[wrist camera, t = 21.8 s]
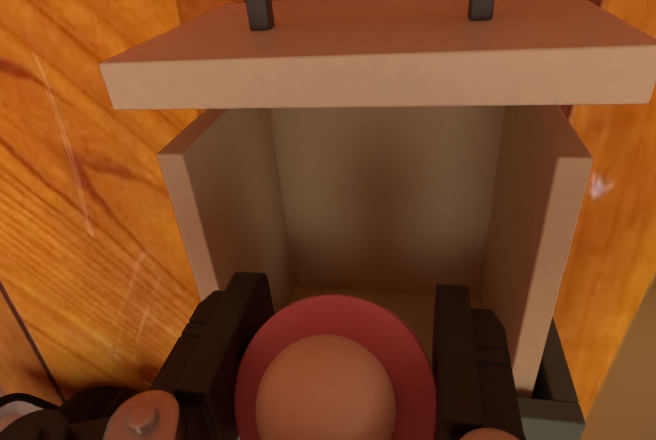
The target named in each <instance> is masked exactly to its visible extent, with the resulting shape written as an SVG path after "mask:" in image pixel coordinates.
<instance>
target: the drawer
mask: <svg viewBox="0 0 656 440" xmlns="http://www.w3.org/2000/svg"><path fill="white" fill-rule="evenodd" d="M245 1H246V2H244V3H227V4H225V5H223V6H221V7H219V8H216V9H214V10H212V11H210V12H208V13H206V14H204V15H201V16H199V17H197V18H195V19H193V20H191V21H189V22H187V23H184V24H182V25H180V26H178V27H176V28H174V29H172V30H169V31H167V32H165V33H163V34H161V35H159V36H157V37H154V38H152V39H150V40H148V41H146V42H144V43H142V44H139V45H137V46H135V47H133V48H131V49H129V50H127V51H124V52H122V53H120V54H118V55H116V56H114V57H112V58H110V59H107V60H105V61H103V62H101V63H100V64H99V67H100V70H101V73H102V76H103V79H104V82H105V85H106V88H107V91H108V94H109V97H110V100H111V103H112V106H113V108H114V109H115V110H150V109H206V110H205V111H204V112H203V113H202V114H201V115H200V116H199V117H197V118H196V119H195V120H194V121H193V122H192V123H191V124H190V125H189V126H187V127H186V128H185V129H184V130H183V131H182V132H181V133H180V134H179V135H177V136H176V137H175V138H174V139H173V140H172V141H171V142H170V143H169V144H167V145H166V146H165V147H164V148H163V149H162V150H161V151H160V152H159V153H158V154H157V157H158V161H159V164H160V167H161V171H162V174H163V177H164V180H165V184H166V187H167V190H168V194H169V197H170V200H171V203H172V207H173V210H174V213H175V217H176V220H177V223H178V227H179V230H180V233H181V236H182V240H183V243H184V246H185V250H186V253H187V256H188V260H189V263H190V266H191V269H192V273H193V276H194V279H195V283H196V286H197V289H198V293H199V296H200V299H201V302H202V301H203V300H204V299H205V298H206V297H207V296H209V295H210V294H211V293H212V292H213V291H214V290H219V291H225V289H226V287H227V285H228V283H229V281H230V279H231V278H232V276H233V274H234V273H235V272H237V271H240V272H257V273H265V274H266V275H267V277H268V281H269V286H270V292H271V297H272V302H273V308H274V313H275V314H276V313H277V312H279V311H280V310H282V309H283V308H285V307H287V306H289V305H291V304H292V303H294V302H297V301H300V300H302V299H305V298H309V297H313V296H318V295H328V294H336V295H347V296H353V297H358V298H361V299H364V300H367V301H370V302H372V303H375V304H377V305H379V306H382V307H384V308H386V309H389V310H391V311H393V312H394V313H396V314H397V315H399V316H400V317H401V318H403V319H404V320H405V321H406V322H407V323H408V324H409V325H410V326H411V327H412V329H413V330H414V332H415V333H416V334H417V336H418V338H419V340H420V342H421V344H422V346H423V348H424V350H425V353H426V355H427V357H428V360H429V362H430V365H431V367H432V339H433V321H434V306H435V292H436V284H452V285H468V287H469V294H470V304H471V308H476V309H491V310H492V311H493V312H494V314H495V315H496V316H497V318H498V319H499V320H500V322H501V323H502V325H503V326H504V328H505V333H506V339H507V344H508V351H509V355H510V361H511V367H512V372H513V377H514V383H515V388H516V394H517V397H522V398H531V396H532V393H533V389H534V385H535V381H536V377H537V373H538V370H539V366H540V362H541V358H542V354H543V350H544V347H545V343H546V339H547V335H548V331H549V328H550V324H551V320H552V316H553V312H554V308H555V305H556V301H557V297H558V293H559V289H560V285H561V282H562V278H563V274H564V270H565V266H566V262H567V259H568V255H569V251H570V247H571V243H572V239H573V236H574V232H575V228H576V224H577V220H578V216H579V213H580V209H581V205H582V201H583V197H584V194H585V190H586V186H587V182H588V178H589V174H590V171H591V167H592V163H593V157H592V155H591V154H590V152H589V151H588V149H587V148H586V146H585V145H584V143H583V142H582V140H581V139H580V137H579V136H578V134H577V133H576V131H575V130H574V128H573V127H572V125H571V124H570V122H569V121H568V119H567V118H566V116H565V115H564V113H563V112H562V110H561V109H560V107H559V105H597V104H647V103H649V101H650V99H651V95H652V92H653V89H654V86H655V82H656V39H655V38H653V37H651V36H649V35H648V34H646V33H644V32H642V31H641V30H639V29H637V28H635V27H634V26H632V25H630V24H628V23H627V22H625V21H623V20H621V19H620V18H618V17H616V16H614V15H613V14H611V13H609V12H607V11H606V10H604V9H602V8H600V7H599V6H597V5H595V4H593V3H592V2H590V1H588V0H279V1H272V0H245Z"/></svg>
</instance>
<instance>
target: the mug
mask: <svg viewBox="0 0 656 440" xmlns="http://www.w3.org/2000/svg"><path fill="white" fill-rule="evenodd" d="M137 394H139V393H138V392H135V391H132V390H119V389H115V388H107V387H94V388H88V389H85V390H82V391H80V392H79V393H77V394H75V395H74V396H73V397H71V398H70V399H69V400H67V401H66V402H65V403H63V404H62V405H61V406H60V407H59V406H57V405H55V404H52V403H50V402H47V401H45V400H43V399H40V398H38V397H35V396H32V395H29V394H24V393H13V394H9V395H5V396H3V397H1V398H0V420H1V419H3V418H5V417H7V416H9V415H12V414H20V415H23V416H24V415H26V414H28V413H31V412H34V411H37V410H43V409H52V410H56V411H58V412H60V413H61V414H63V416H64V417H65V419H66V420H67V422H68V423H69V425H70V424H75V423H80V422H85V421H91V420H96V419H101V418H106V417H110V416H112V415H113V413H114V412H115V411H116V409H117V408H118V407H119V406H120V405H121V404H123V403H124V402H125V401H126V400H128V399H129V398H131V397H133V396H135V395H137Z"/></svg>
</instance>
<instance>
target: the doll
mask: <svg viewBox="0 0 656 440" xmlns="http://www.w3.org/2000/svg"><path fill="white" fill-rule="evenodd" d="M234 413H235V420H236V426H237V430H238V433H239V437H240V440H434V438H435V421H436V381H435V377H434V373H433V370H432V367H431V365H430V362H429V360H428V357H427V355H426V353H425V350H424V348H423V346H422V344H421V342H420V340H419V338H418V336H417V334H416V333H415V332H414V330H413V329H412V327H411V326H410V325H409V324H408V323H407V322H406V321H405V320H404V319H403V318H401V317H400V316H399V315H397V314H396V313H394V312H393V311H391V310H389V309H386V308H384V307H382V306H379V305H377V304H375V303H372V302H370V301H367V300H364V299H361V298H358V297H353V296H347V295H336V294H328V295H318V296H313V297H309V298H305V299H302V300H300V301H297V302H294V303H292V304H291V305H289V306H287V307H285V308H283V309H282V310H280V311H279V312H277V313H276V314H275V315H273V316H272V317H271V318H270V319H269V320H268V321H267V322H266V323H265V324H263V326H262V327H261V328H260V329H259V330H258V332H257V333H256V334H255V335H254V337H253V338H252V340H251V342H250V343H249V345H248V346H247V348H246V351H245V353H244V355H243V357H242V359H241V362H240V365H239V368H238V372H237V378H236V387H235V397H234Z"/></svg>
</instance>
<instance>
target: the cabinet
mask: <svg viewBox="0 0 656 440" xmlns="http://www.w3.org/2000/svg"><path fill="white" fill-rule="evenodd" d="M517 399H518V405H519V410H520V416H521V421H522V426H523V431H524V435H525V438H526V440H580V438H581V435H582V433H583V431H584V428H585V421H584V418H583V414H582V411H581V408H580V405H579V404H578V402H579V401H578V398H577V395H576V391H575V388H574V385H573V382H572V378H571V375H570V372H569V368H568V365H567V362H566V359H565V355H564V352H563V349H562V345H561V342H560V339H559V336H558V332H557V329H556V326H555V323H554V319H553V316H552V320H551V324H550V328H549V331H548V335H547V339H546V343H545V347H544V350H543V354H542V358H541V362H540V366H539V370H538V373H537V377H536V381H535V385H534V389H533V393H532V396H531V398H522V397H517ZM237 440H240V437H239V436H238V439H237Z"/></svg>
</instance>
